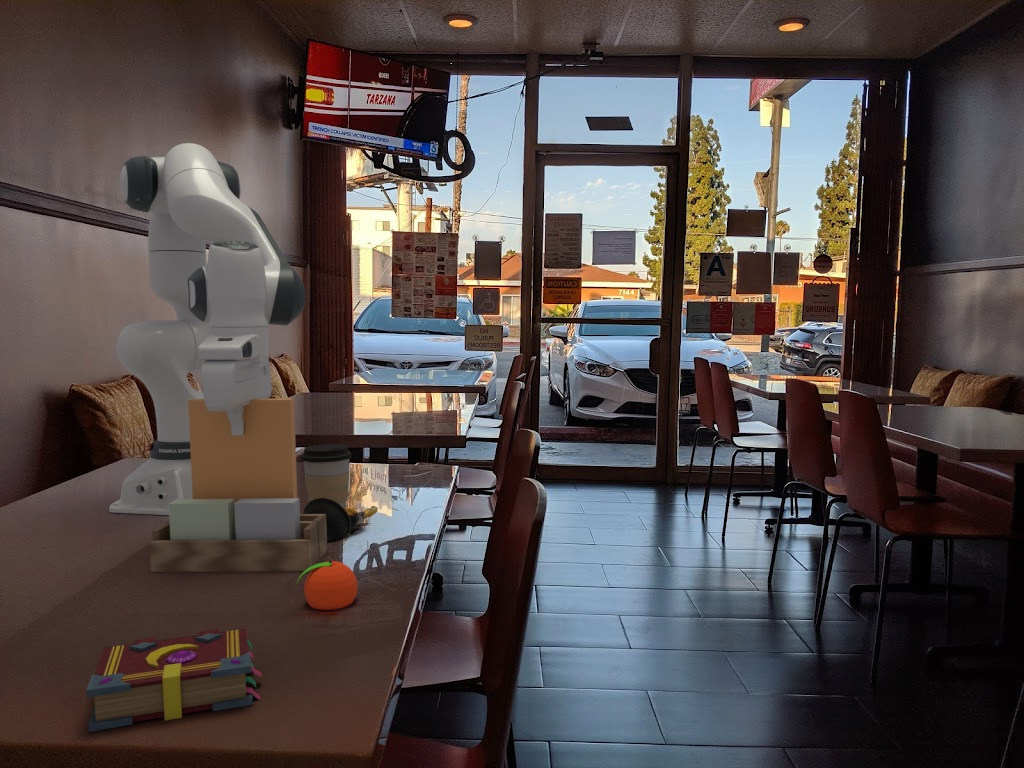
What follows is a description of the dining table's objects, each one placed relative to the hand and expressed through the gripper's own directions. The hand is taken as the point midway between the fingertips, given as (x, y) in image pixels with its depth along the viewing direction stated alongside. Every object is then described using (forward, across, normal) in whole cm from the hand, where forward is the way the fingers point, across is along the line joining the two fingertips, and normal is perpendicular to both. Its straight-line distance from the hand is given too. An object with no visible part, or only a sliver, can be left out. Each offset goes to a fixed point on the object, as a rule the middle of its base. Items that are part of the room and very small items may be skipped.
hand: (242, 433), depth 127 cm
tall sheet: (+17, 0, 0) cm, 17 cm away
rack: (+21, +3, 0) cm, 21 cm away
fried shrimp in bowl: (+22, -14, +12) cm, 29 cm away
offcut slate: (+20, +5, +5) cm, 21 cm away
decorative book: (+21, +44, +8) cm, 50 cm away
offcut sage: (+20, +5, -5) cm, 21 cm away
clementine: (+21, +22, +18) cm, 35 cm away
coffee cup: (+22, -24, +7) cm, 33 cm away
